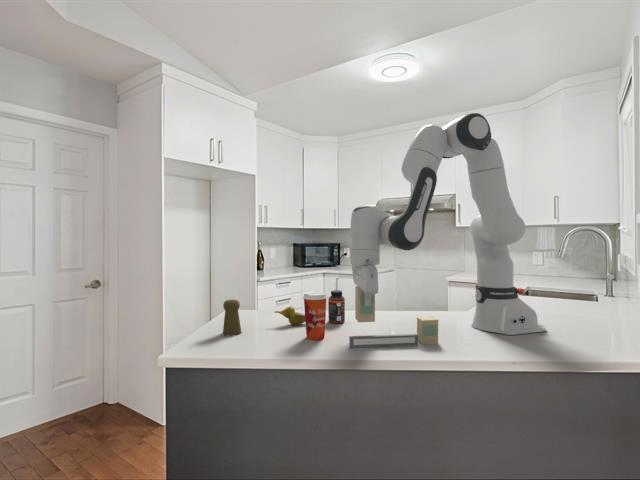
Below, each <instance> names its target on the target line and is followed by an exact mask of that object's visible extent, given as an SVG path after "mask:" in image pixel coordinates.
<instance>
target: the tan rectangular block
mask: <svg viewBox="0 0 640 480" xmlns="http://www.w3.org/2000/svg"><path fill="white" fill-rule="evenodd" d="M354 290H355V294H354V295H355V299H354V300H355V305H354V306H355V317H354V318H355V319H356V321H357V322H358V323H370V322H371V323H376V322H375V321H376V294H372V298H371V306H365V305H364V296H365V295H364V291H362V290H361V289H360V288H359V287H358V286H357V285H355V289H354Z"/></svg>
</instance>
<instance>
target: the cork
mask: <svg viewBox="0 0 640 480" xmlns="http://www.w3.org/2000/svg"><path fill="white" fill-rule="evenodd" d="M240 306H241V305H240V302H239V300H237V299H227V300H225V301H224V302H223V310H224V317H223V318H224V320H223V327H222V335H223V334H224V335H223V336H225V335H230V336H229V337H232V336H231V335H235V336H238V335H241V334H242V328H241V327H242V326H241V320H240V315H239V309H240Z"/></svg>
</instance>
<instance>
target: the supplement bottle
mask: <svg viewBox="0 0 640 480" xmlns="http://www.w3.org/2000/svg"><path fill="white" fill-rule="evenodd" d="M330 295H331V296H329V297H328V303H327V304H328V308H327V309H328V322H329V323H331V324H343V323H344V322H345V321H346V320H345V319H346V309H345V305H346V303H345V301H346V298H345V297H344V296H343V291H342V290H337V289H336V290H335V289H334V290H331V292H330Z"/></svg>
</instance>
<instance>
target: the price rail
mask: <svg viewBox="0 0 640 480" xmlns="http://www.w3.org/2000/svg"><path fill="white" fill-rule="evenodd" d="M348 338H349V339H348V341H349V348H350V349H353V348H354V349H355V348H357V349H358V348H378V347H379V346H380V347H381V346H385V347H406V346H405V345H411V346H418V345H419V341H418V335H417V333H403V334H402V333H401V334H378V335H376V334H375V335H371V334H370V335H352V336H351V335H350V336H349V337H348ZM380 347H379V348H380Z"/></svg>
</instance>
